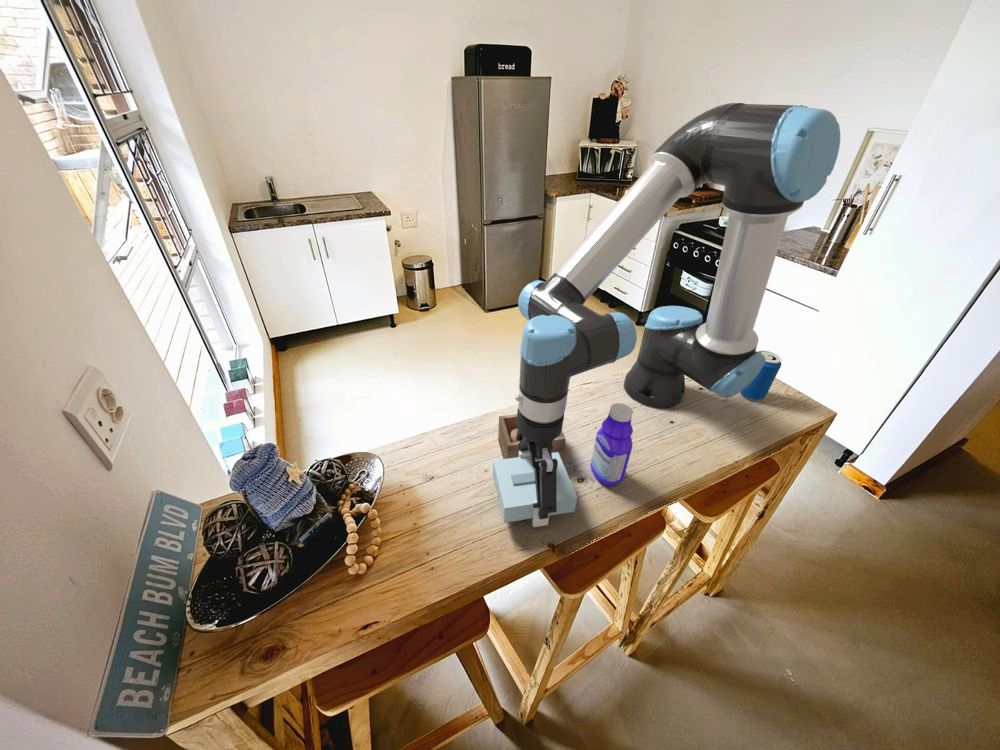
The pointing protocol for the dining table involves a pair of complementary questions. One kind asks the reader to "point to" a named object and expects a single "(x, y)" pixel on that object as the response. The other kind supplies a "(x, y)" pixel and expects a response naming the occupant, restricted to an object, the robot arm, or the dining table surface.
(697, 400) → the dining table surface
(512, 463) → the lid
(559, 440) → the crate
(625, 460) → the bottle
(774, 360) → the beverage can
